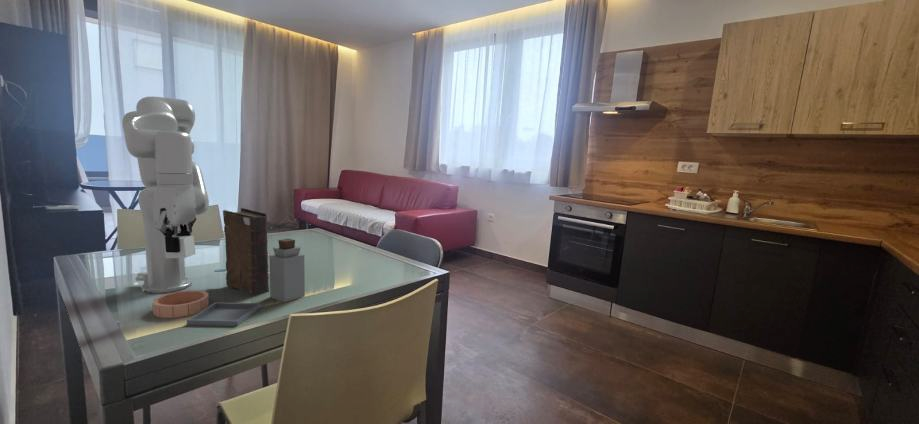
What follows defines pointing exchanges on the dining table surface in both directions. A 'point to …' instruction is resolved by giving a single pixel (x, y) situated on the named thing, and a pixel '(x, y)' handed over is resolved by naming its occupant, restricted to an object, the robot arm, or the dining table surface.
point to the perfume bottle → (287, 272)
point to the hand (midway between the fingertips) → (179, 249)
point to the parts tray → (224, 314)
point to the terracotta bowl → (180, 303)
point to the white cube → (183, 248)
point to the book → (246, 251)
